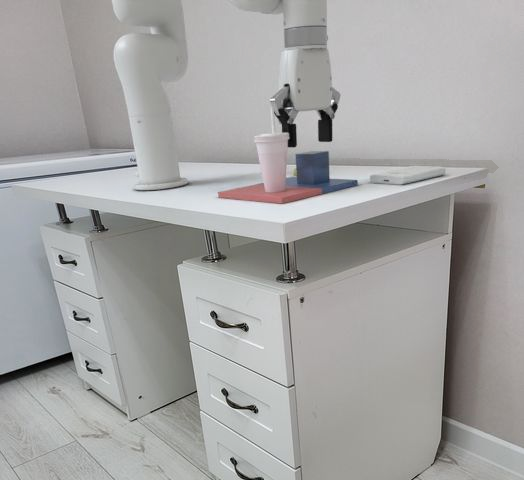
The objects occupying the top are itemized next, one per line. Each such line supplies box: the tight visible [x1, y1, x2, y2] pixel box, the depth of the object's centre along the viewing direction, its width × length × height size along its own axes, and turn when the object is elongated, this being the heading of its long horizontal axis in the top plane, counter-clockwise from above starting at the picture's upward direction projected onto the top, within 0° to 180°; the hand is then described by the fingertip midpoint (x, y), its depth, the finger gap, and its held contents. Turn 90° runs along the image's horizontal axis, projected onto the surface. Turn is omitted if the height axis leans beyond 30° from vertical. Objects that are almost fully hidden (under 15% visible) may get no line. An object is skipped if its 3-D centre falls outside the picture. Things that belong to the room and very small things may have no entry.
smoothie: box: [253, 106, 290, 192], centre depth 96 cm, size 6×6×14 cm
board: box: [217, 176, 359, 204], centre depth 104 cm, size 18×20×1 cm
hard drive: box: [369, 165, 447, 186], centre depth 104 cm, size 2×8×12 cm
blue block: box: [295, 150, 331, 185], centre depth 104 cm, size 4×4×6 cm
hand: (308, 144), depth 102 cm, fingers open, 9 cm apart
